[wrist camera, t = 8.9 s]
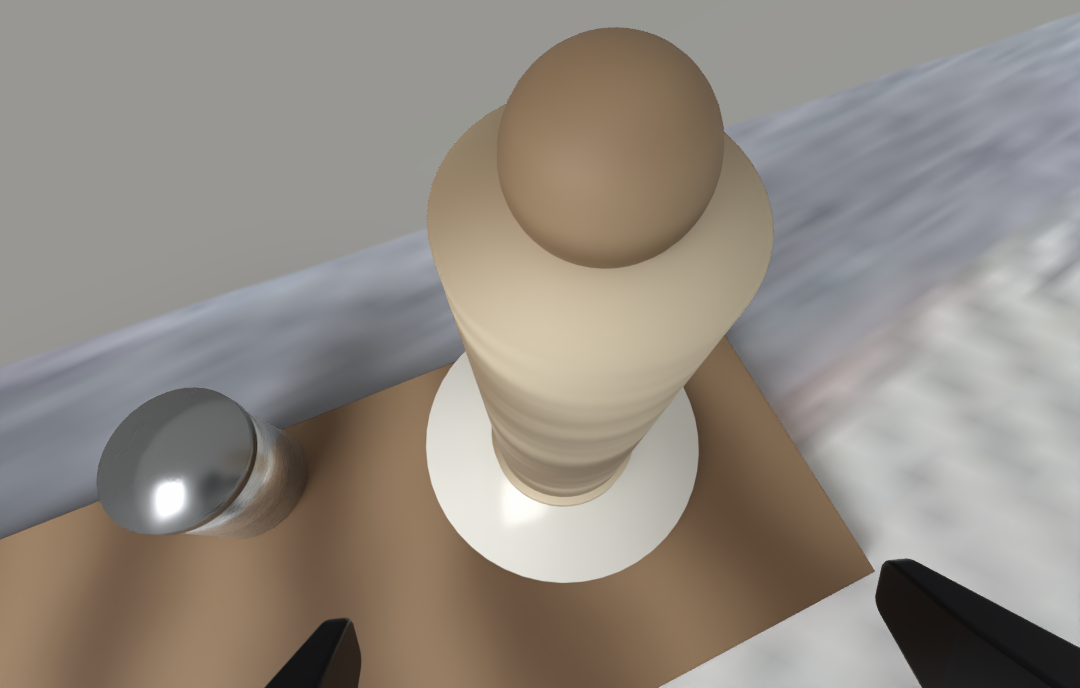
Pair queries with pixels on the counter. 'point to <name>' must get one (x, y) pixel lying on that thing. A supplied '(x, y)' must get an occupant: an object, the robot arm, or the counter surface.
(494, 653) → the serving board
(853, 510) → the counter surface
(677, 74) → the pepper mill
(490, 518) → the white saucer
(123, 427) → the spice tin
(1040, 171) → the counter surface
